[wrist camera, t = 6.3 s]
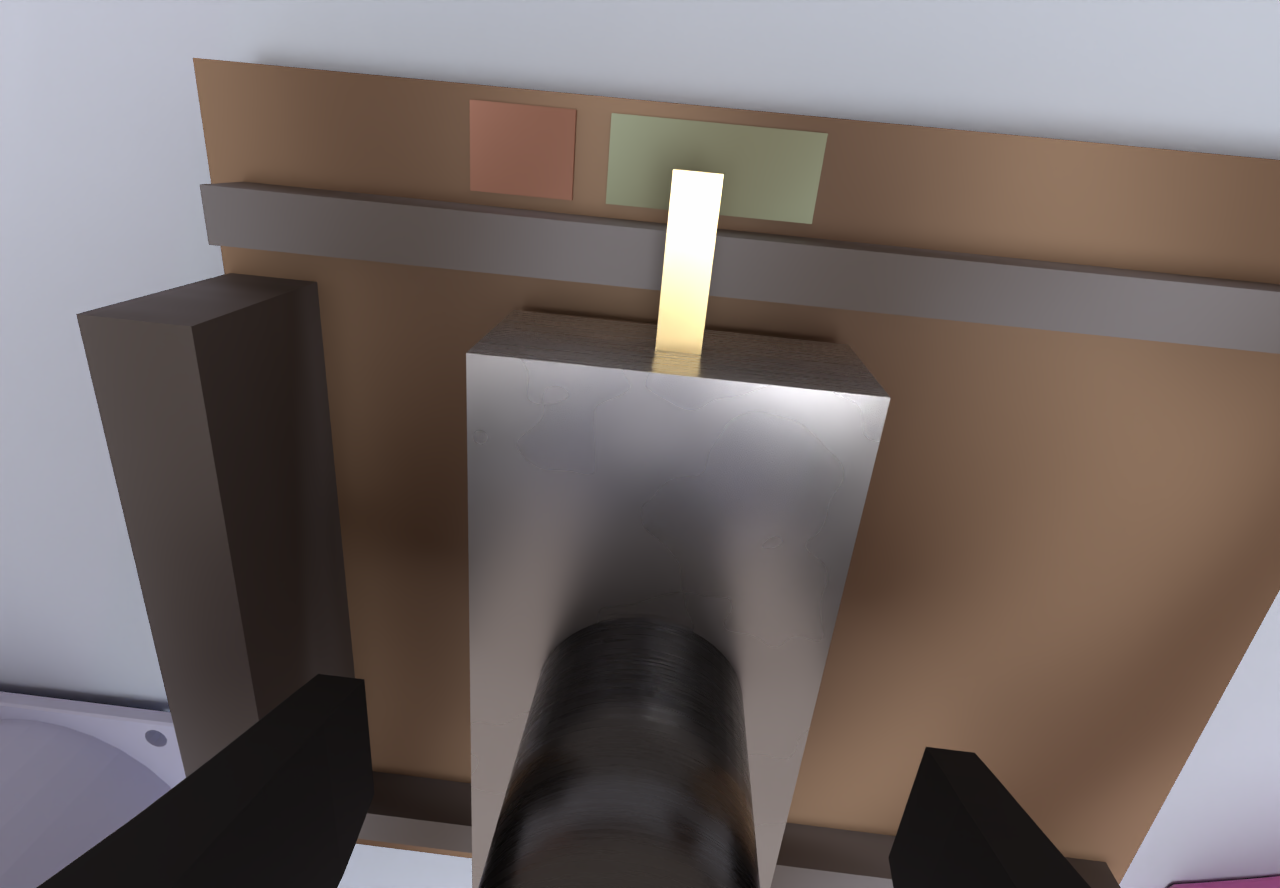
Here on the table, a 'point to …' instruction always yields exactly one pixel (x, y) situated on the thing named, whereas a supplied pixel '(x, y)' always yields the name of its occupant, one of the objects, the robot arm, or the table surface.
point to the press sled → (653, 579)
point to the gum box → (1235, 883)
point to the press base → (741, 303)
